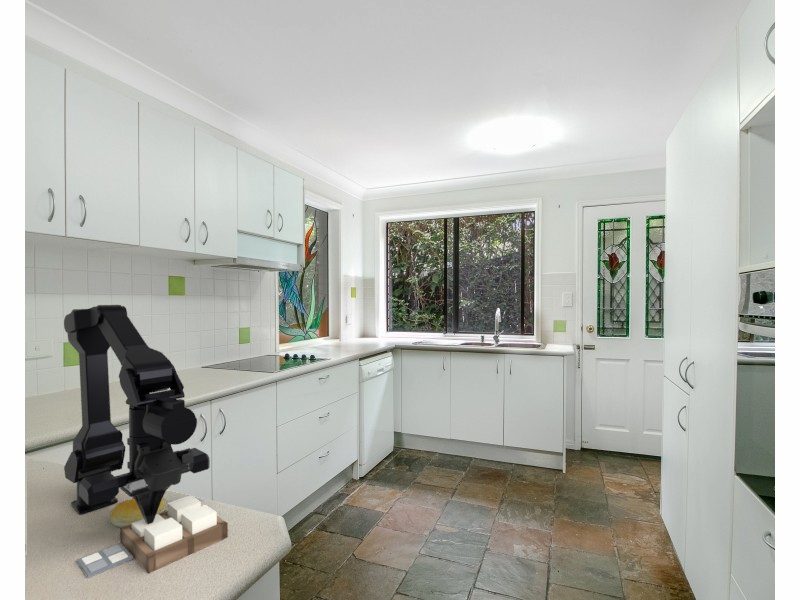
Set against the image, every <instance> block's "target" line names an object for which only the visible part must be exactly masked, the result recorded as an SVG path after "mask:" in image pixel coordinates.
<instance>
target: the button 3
mask: <svg viewBox="0 0 800 600" xmlns="http://www.w3.org/2000/svg"><path fill="white" fill-rule="evenodd" d="M166 505H167V507H166V510H167V515H168V517H169V518H171V517H172V518H173V519H174V520H176V521H177V522H181V514H182V513H184V512H187V511H190V510H192V509H195V508H198V507H200V506H201V505H202V501H201V500H199V499H198V498H196V497H195V496H193V495H187V496H185V497H182V498H179V499H175V500H173V501H171V502H168V503H167V502H166Z"/></svg>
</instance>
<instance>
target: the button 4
mask: <svg viewBox="0 0 800 600" xmlns="http://www.w3.org/2000/svg"><path fill="white" fill-rule="evenodd" d="M217 516H218V513H217V511H216V510H214V509H213V508H211V507H210V506H208V505H207V504H203V505H202V506H200V507H198V508H195V509H192V510H190V511H187V512H184V513H182V514H181V525H182V528H183V529H184V530H185V531H187V532H188V533H189V534H190V535H193V534H195V533H198V532H200V531H203V530H205V529H207V528H210V527H212V526H214V525H217Z"/></svg>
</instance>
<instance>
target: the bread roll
mask: <svg viewBox="0 0 800 600" xmlns="http://www.w3.org/2000/svg"><path fill="white" fill-rule="evenodd" d="M166 510H167V502H166V499H165V498H164V497H163V498H162V500H161V502H160V505H159V508H158V511H157V513H156V514H160V513H163V512H166ZM143 519H144V517H143V515H142V513H141V511H140V509H139V507H138V505H137V503H136V501H135V499H134V497H131V499H127V500H124V501H121V502H119V503H118V504H116V505H115V506H114V507H113V509H112V510H111V513H110V522H111V523H112V525H113V526H114V527H117V528H122V527H125V526H127V525H130V524H132V523H134V522H137V521H140V520H143Z"/></svg>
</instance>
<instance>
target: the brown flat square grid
mask: <svg viewBox="0 0 800 600" xmlns="http://www.w3.org/2000/svg"><path fill="white" fill-rule="evenodd" d="M201 506H203V505H202V504H201ZM159 515H160V516H161V517H162V518H164V519H165V520H166V519H169V517H168V515H167V511H166V510H165V511H164V512H163V513H160V514H159ZM178 523H179V524H181V522H178ZM228 524H229V523H228V522H227V521H225V520H224V519H222V518H221V517H219V516H218V515H217V525H214V526H212V527H210V528H207V529H205V530H203V531H200V532H198V533H195V534H193V535H190V534H189V533H188V532H187V531H185V530H184V529H183V528H182V539H181V540H179V541H176V542H174V543H172V544H169V545H167V546H165V547H162V548H160V549H157V550H155V551H153V550H152V549H150V548H149V547H148V546H147V545H146V544H145V543H144V536H143V537H140V538H139V537H138V536H137V535H136V534H135V533H134V532H133V531H132V524H130V525H127V526H125V527H119V528H120V529H119V530H120V534H119V536H120V542H119V543H121V544H122V545H123V546H124V548H125V549H126V550H127V551H128V552H129V553H130V554H131V555H132V556H133V559H135V560H136V561H137V562H138V563H139V564H140V565H141V567H143V569H144V570H145V571H146V572H147V573H148V574H150V573H151V572H152V573H153V572H154V571H157V570H159V569H161V568H163V567H166V566H168V565H170V564H172V563H174V562H177V561H178V560H182V559H183V558H185V557H187V556H189V555H192V554H194V553H196V552H199V551H201V550H203V549H205V548H207V547H209V546H212V545H213V544H214V545H215V544H216V543H219V542H220V541H223V540H225V539H227V538H228V537H229V536H228V535H229V534H228V533H229V530H228Z"/></svg>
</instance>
